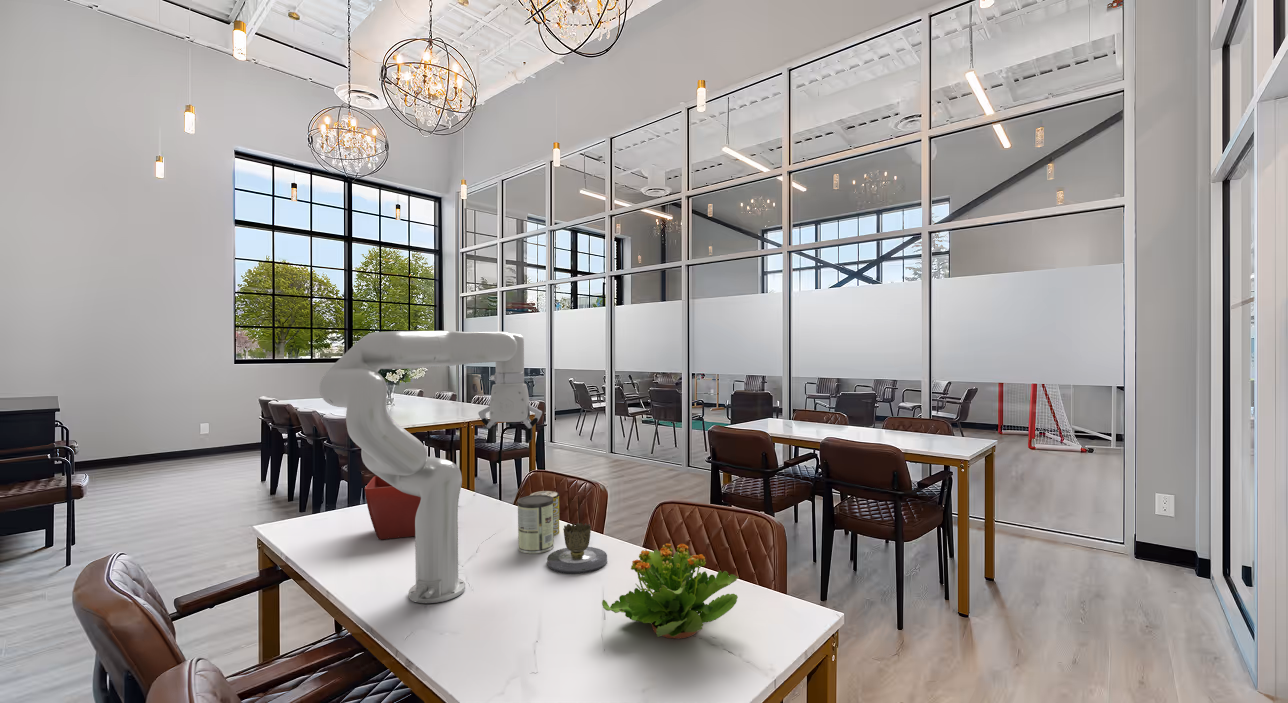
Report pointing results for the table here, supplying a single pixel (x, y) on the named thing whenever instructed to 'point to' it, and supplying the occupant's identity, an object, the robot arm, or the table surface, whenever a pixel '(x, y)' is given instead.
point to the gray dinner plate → (577, 561)
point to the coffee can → (535, 524)
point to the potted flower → (674, 593)
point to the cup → (577, 538)
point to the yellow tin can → (555, 508)
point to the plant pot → (391, 509)
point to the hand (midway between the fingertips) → (510, 442)
